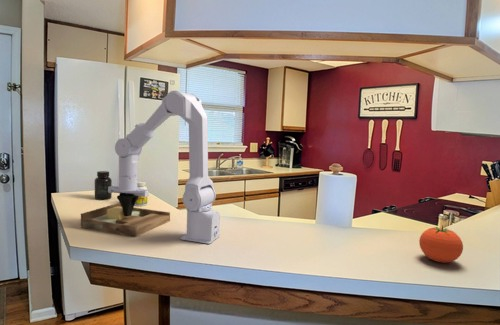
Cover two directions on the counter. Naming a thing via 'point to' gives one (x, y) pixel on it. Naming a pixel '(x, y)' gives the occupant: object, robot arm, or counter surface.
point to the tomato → (441, 244)
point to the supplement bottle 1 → (102, 186)
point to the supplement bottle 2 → (141, 200)
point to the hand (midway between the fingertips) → (127, 215)
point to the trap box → (124, 221)
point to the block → (115, 213)
